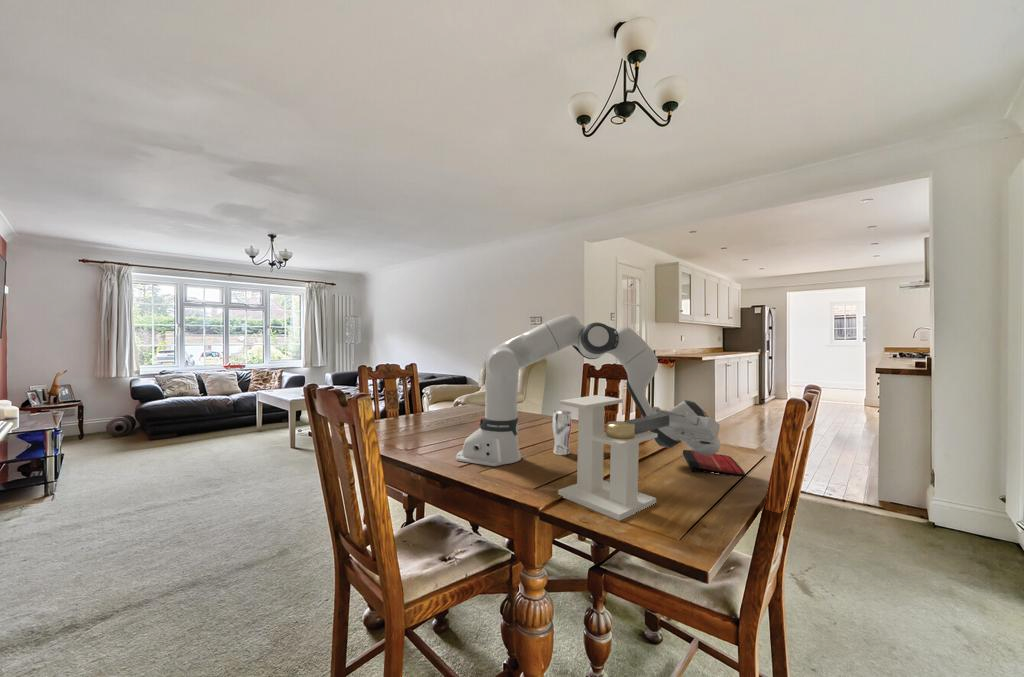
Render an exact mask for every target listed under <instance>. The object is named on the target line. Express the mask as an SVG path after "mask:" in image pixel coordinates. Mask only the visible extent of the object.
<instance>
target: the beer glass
mask: <svg viewBox="0 0 1024 677" xmlns="http://www.w3.org/2000/svg"><path fill="white" fill-rule="evenodd" d="M552 412H553V413H552V431H553V432H552V433H553V441H554V444H553V445H554V447H553V454H555V455H557V456H569V455H570V454H571V450H570V438H571V435H572V434H571V433H572V427H573V424H572V423H573V420H572V418H573V417H572V412H571V411H570V410H561V409H559V410H554V411H552Z"/></svg>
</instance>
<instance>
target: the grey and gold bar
mask: <svg viewBox="0 0 1024 677" xmlns="http://www.w3.org/2000/svg"><path fill="white" fill-rule="evenodd" d="M665 426H669V415H667V414H661V413H659V414H654V415H650V416H645V417H642V416H641V417H637V418H633V419H627V420H624V421H623V420H622V421H621V420H613V421H607V422H606V426H605V429H606V432H605V433H606V436H608V437H610V438H614V439H633V438H635V434H639V433H643V432H647V431H648V432H650V430H654V429H658V428H662V427H665Z"/></svg>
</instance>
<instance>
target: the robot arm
mask: <svg viewBox="0 0 1024 677" xmlns="http://www.w3.org/2000/svg"><path fill="white" fill-rule="evenodd" d="M571 346H572V347H573V348H574V350H575V351H577V353H579V355H581V356H582V357H583V358H585V359H587V360H596V359H598V358H601V357H602V356H604V355H605V354H610V355H612V356H613V357H615V358H616V359H617V361H619V363H620V365H621V366H622V367H623V368H624V370H625V372H626V375H627V380H626V382H625V384H626V388H627V390H628V393H629V394H630V396H631V398H632V400H633V402H634V404H635V406H636V408H637V409H638V411H639V413H640V415H641V417H645V416H650V415H654V414H659V413H661V414H667V415H669V426H665V427H662V428H658V429H654V430H650V431H649V432H653V433H658V437H657V438H653V439H652V440H654V442H655V443H656V444H657V445H658V446H659V447H662V448H669V449H670V448H673V447H674V446H676V445H677V444H678V443H679V442H680V441H681V442H682V443H683V444H684V445H686V446H688V447H689V448H690V450H691V451H695V452H696V453H698V454H700V455H702V456H712V455H714V454H718V452H719V450H720V448H721V442H720V439H719V437H718V436H719V432H720V427H721V426H720V425H721V424H720V423H719V422H717V421H716V420H715V419H714V418H711V417H709V416H708V414H707V413H706V412H705V411H704V410H703V409H702V408H701V407H700V406H699V404H697V403H696V402H695V401H692V400H683V401H682V402H680V403H678V404H676V406H674V407H672V409H670V410H666V409H665V410H664V409H661V408H660V407H659V406H652V405H651V404H650V402H649V400H648V399H647V398H648V397H647V396H646V391H647V388H648V386H649V384H650V382H651V381H652V379H653V377H655V375H656V373H657V370H658V367H659V361H658V360H659V359H658V357H657V355H656V354H655V352H654V351H653V349H652V348H651V346H650V345H649V344H648V343H647V342H646V341H645V340H644V339H643V338H642V336H640V335H639V334H638V333H637V332H636V331H635V330H633V329H632V328H631V327H629V326H621V327H618V328H615V327H611V326H610V325H606V324H605V323H603V322H602V323H601V322H597V321H596V322H592V323H589V324H587V325H586V326H584V325H582V324H581V322H580V321H579V318H577V316H575V315H573V314H570V313H568V314H564V315H560V316H557V317H554V318H552V319H549V320H547V321H545V322H543V323H541V324H539V325H537V326H536V327H534V328H531V329H530V330H528V331H527V330H526V331H525V332H523V333H521V334H520V335H517V336H515V337H512V338H511V339H509V340H507V341H504V342H502V343H500V344H498V345H495V346H494V347H492V348H491V349H490V350H489V351H488V352H487V354H486V357H485V396H484V397H485V398H484V399H485V402H484V403H485V404H484V408H485V409H484V410H485V411H484V412H485V413H484V415H483V416H481V418H480V419H479V421H478V425H479V428H478V429H476V430H475V431H474V432H473V433H471V434H470V435H469V436H467V437H466V438H465V440H464V442H463V447H462V450H459V451H458V452H457V453H456V455H455V460H456V461H458V462H462V463H464V462H465V463H471V464H478V465H481V466H482V465H483V466H490V467H498V466H502V465H507V464H513V463H517V462H518V461H521V459H522V456H521V453H520V446H519V441H518V440H519V438H518V434H519V417H518V391H519V390H518V389H519V388H518V387H519V374H520V372H519V371H520V370H521V369H524V368H525V367H528V366H530V365H533V364H535V363H538V362H540V361H542V360H544V359H546V358H548V357H549V356H550V357H551V355H553V354H556V353H558V352H559V351H562V350H563V349H565V348H567V347H571Z"/></svg>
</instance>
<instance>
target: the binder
mask: <svg viewBox="0 0 1024 677" xmlns="http://www.w3.org/2000/svg"><path fill="white" fill-rule="evenodd" d="M682 455H683V458H684V460H685V462H686V463H687V465H688V467H689V469H690V470H691V473H694V471H698V470H700V471H706V472H705V473H710V472H714V473H719V474H726V475H725V476H730V475H733V476H734V477H745V473H744V471H743V470H742V468H741V467H740V465H739V464H738V463H737V462H736V461H735V459H733V458H732V457H731V456H729V455H726V454H725V455H724V454H718V453H715V454H714V455H712V456H702V455H700V454H698V453H696V452H695V451H693V450H692V449H690V450H689V449H683V450H682ZM700 471H699V472H700ZM733 476H732V477H733Z"/></svg>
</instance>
